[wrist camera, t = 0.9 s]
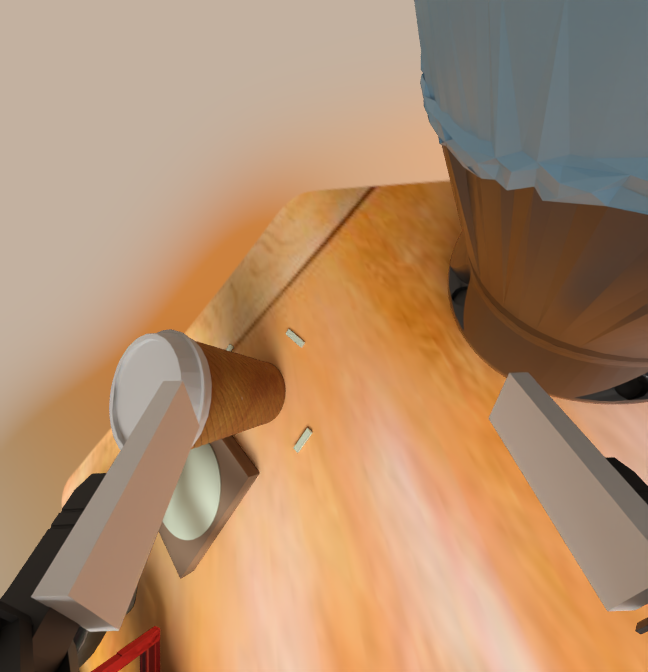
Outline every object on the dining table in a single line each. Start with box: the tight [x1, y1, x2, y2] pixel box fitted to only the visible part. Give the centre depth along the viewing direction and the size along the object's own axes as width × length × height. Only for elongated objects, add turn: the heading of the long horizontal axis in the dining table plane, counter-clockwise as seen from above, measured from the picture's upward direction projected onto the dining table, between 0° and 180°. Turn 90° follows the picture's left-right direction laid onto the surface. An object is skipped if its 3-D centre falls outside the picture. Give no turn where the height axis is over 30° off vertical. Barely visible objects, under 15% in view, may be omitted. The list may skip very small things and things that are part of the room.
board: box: [159, 435, 259, 579], centre depth 33 cm, size 14×12×2 cm
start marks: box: [226, 329, 313, 453], centre depth 30 cm, size 14×14×1 cm
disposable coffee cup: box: [109, 330, 285, 450], centre depth 25 cm, size 10×10×12 cm
